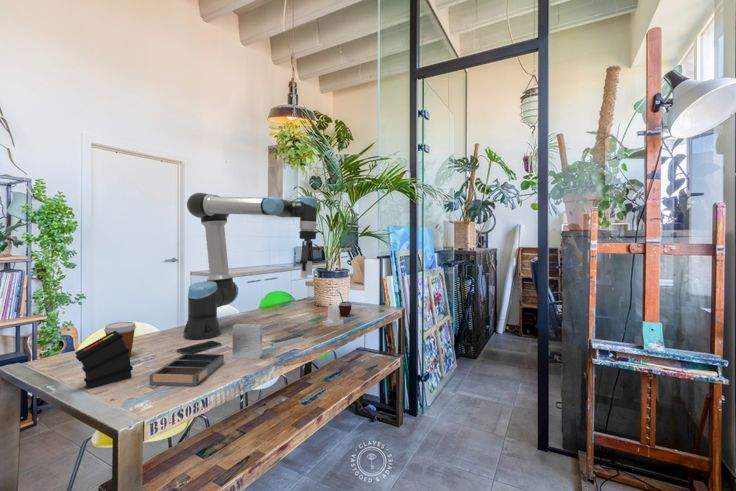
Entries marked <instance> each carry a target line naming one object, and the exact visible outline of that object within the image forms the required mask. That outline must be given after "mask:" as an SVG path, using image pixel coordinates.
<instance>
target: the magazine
mask: <svg viewBox="0 0 736 491" xmlns="http://www.w3.org/2000/svg"><path fill="white" fill-rule="evenodd" d="M122 337H123V336H122V335H121V334H119V333H118V332H117V331H113V332H112V333H110V334H108V335H106V334H105V336H103V337H100V338H99V339H98V340H96V341H94V342H92V343H90V344H88V345H86V346H85V347H82V348H81V349H79V350H77V351H76V352H74V354H75V359H77V361H78V362H80V363H81V364H82V368H81V369H82V371H83V372H84V374H85V377H84V378H83V381H84V382H85V386H86V387H87V388H88V389H92V388H95V387H99V386H103V385H108V384H112V383H115V382H116V383H117V382H120V381H123V380H127V379H131V378H132V371H133V369H134V368H133V365H131V358H130V357H131V356H130V357H129V354H128V352H130V351H129V349H128V348H127V347H126V345H125V343H124V341H123V339H122Z"/></svg>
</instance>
